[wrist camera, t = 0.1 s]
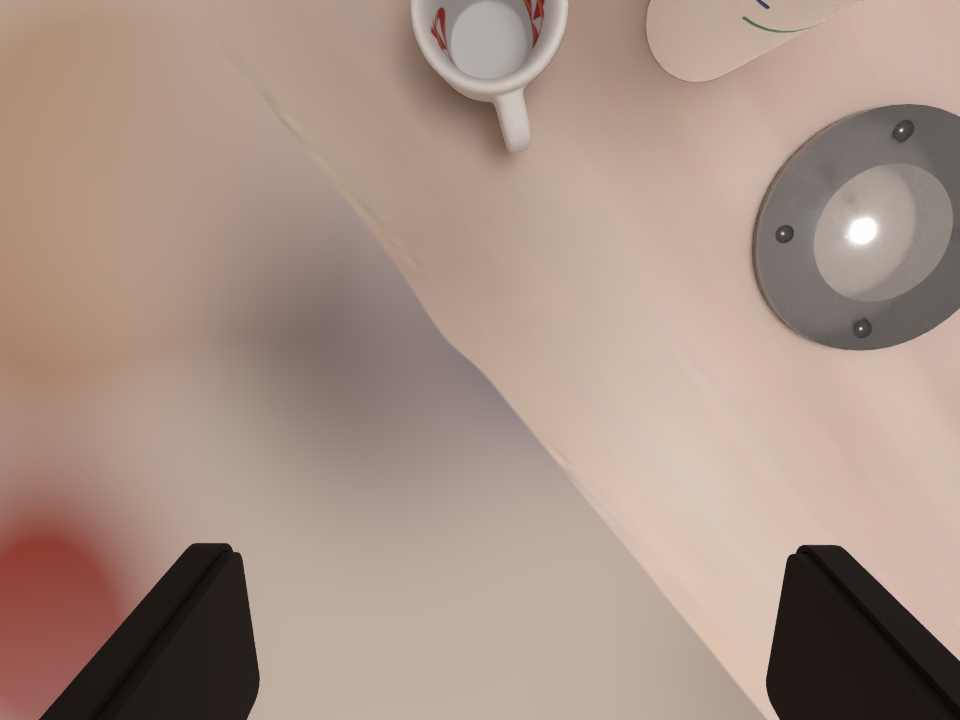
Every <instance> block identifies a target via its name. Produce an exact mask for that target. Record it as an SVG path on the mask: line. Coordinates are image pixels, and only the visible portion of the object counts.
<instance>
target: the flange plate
mask: <svg viewBox="0 0 960 720" xmlns="http://www.w3.org/2000/svg"><path fill="white" fill-rule="evenodd" d="M752 251H753V265H754V270H755V275H756V279H757V282H758V285H759V288H760V291H761V293H762V295H763V296H764V298H765V300H766V302H767V304H768V305H769V307H770V308H771V309H772V311H773V312H774V313H775V315H776V316H777V317H778V318H779V319H780V320H781V321H782V322H783V323H784V324H786V325H787V326H789V327H790V328H791V329H793V330H794V331H795V332H797V333H799V334H801V335H803V336H805V337H807V338H809V339H811V340H814V341H816V342H819V343H821V344H824V345H827V346H830V347H835V348H839V349H845V350H858V351H859V350H875V349H881V348H886V347H891V346H894V345H898V344H901V343H904V342H907V341H909V340H911V339H914V338H916V337H919V336H920V335H922V334H924V333H926V332H928V331H930V330H931V329H933V328H935V327H936V326H938V325H939V324H940V323H942V322H943V321H945V320H946V319H948V318H949V317H950V316H951V315H952V314H953V313H954V312H956V311H957V310H958V309H959V308H960V117H959V116H957V115H955V114H952V113H950V112H947V111H945V110H942V109H939V108H935V107H930V106H926V105H913V104H905V105H891V106H886V107H881V108H877V109H872V110H868V111H864V112H860V113H858V114H855V115H852V116H849V117H846V118H844V119H842V120H840V121H838V122H835V123H833V124H831V125H829V126H828V127H826V128H825V129H823V130H822V131H820V132H818V133H817V134H815V135H814V136H813V137H812V138H810V139H809V140H808V141H807V142H805V143H804V144H803V145H802V146H801V147H800V148H799V149H798V150H797V151H796V152H795V153H794V154H793V155H792V156H791V157H790V158H789V159H788V160H787V162H786V163H785V164H784V165H783V167H782V168H781V169H780V170H779V172H778V173H777V175H776V176H775V178H774V180H773V181H772V183H771V184H770V186H769V188H768V190H767V192H766V194H765V197H764V199H763V201H762V203H761V206H760V209H759V212H758V215H757V219H756V224H755V228H754V234H753V247H752Z"/></svg>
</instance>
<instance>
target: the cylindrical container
mask: <svg viewBox="0 0 960 720" xmlns="http://www.w3.org/2000/svg"><path fill="white" fill-rule="evenodd" d="M861 1H863V0H650V3H649V6H648V9H647V17H646V34H647V39H648V43H649V47H650V49H651V51H652V54H653V56H654V58H655V59H656V61H657V62H658V63H659V65H660V66H661V67H662V68H663V69H664V70H665V71H667V72H668V73H669V74H671V75H673V76H674V77H676V78H678V79H681V80H685V81H688V82H704V81H710V80H713V79H716V78H718V77H721V76H723V75H725V74H727V73H729V72H731V71H732V70H734V69H736V68H738V67H740V66H742V65H744V64H746V63H747V62H749V61H751V60H753V59H755V58H757V57H759V56H761V55H762V54H764V53H766V52H768V51H770V50H772V49H774V48H775V47H777V46H779V45H781V44H783V43H785V42H787V41H789V40H790V39H792V38H794V37H796V36H798V35H800V34H802V33H803V32H805V31H807V30H809V29H811V28H813V27H815V26H817V25H818V24H820V23H822V22H824V21H826V20H828V19H830V18H832V17H833V16H835V15H837V14H839V13H841V12H843V11H845V10H846V9H848V8H850V7H852V6H854V5H856V4H858V3H860V2H861Z"/></svg>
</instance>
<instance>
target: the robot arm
mask: <svg viewBox="0 0 960 720" xmlns="http://www.w3.org/2000/svg"><path fill="white" fill-rule="evenodd" d="M259 678H260V677H259V669H258V662H257V655H256V648H255V642H254V635H253V628H252V621H251V615H250V608H249V601H248V594H247V588H246V581H245V574H244V567H243V560H242V557H241V555H240V553H238V552H233V550H232V548H231V546H230V545H229V544H227V543H195V544H192V545H190V546H189V547H188V548H187V549H186V550H185V552H184V553H183V554H182V555H181V556H180V557H179V558H178V560H177V561H176V562H175V563H174V564H173V565H172V567H171V568H170V569H169V570H168V571H167V572H166V573H165V575H164V576H163V577H162V578H161V579H160V580H159V582H158V583H157V584H156V585H155V586H154V587H153V588H152V590H151V591H150V592H149V593H148V594H147V595H146V597H145V598H144V599H143V600H142V601H141V602H140V604H139V605H138V606H137V607H136V608H135V609H134V610H133V612H132V613H131V614H130V615H129V616H128V617H127V619H126V620H125V621H124V622H123V623H122V624H121V625H120V627H119V628H118V629H117V630H116V631H115V632H114V634H113V635H112V636H111V637H110V638H109V640H108V641H107V642H106V643H105V644H104V645H103V646H102V647H101V649H100V650H99V651H98V652H97V653H96V654H95V656H94V657H93V658H92V659H91V660H90V662H88V664H87V665H86V666H85V667H84V668H83V669H82V671H81V672H80V673H79V674H78V675H77V676H76V678H75V679H74V680H73V681H72V682H71V683H70V684H69V686H68V687H67V688H66V689H65V690H64V691H63V693H62V694H61V695H60V696H59V697H58V698H57V700H56V701H55V702H54V703H53V704H52V705H51V706H50V707H49V709H48V710H47V711H46V712H45V713H44V715H43V716H42V717H41V718H40V719H39V720H247V718H248V715H249V713H250V711H251V709H252V707H253V705H254V703H255V700H256V697H257V694H258V688H259V681H260V679H259ZM766 688H767V693H768V697H769V700H770V702H771V704H772V706H773V708H774V710H775V712H776V714H777V715H778V717H779V719H780V720H960V661H959V660H958V659H957V658H956V657H955V656H954V655H953V654H952V653H951V652H950V651H949V650H948V649H947V648H946V647H945V646H943V645H942V644H941V643H940V642H939V641H938V640H937V639H936V638H935V637H934V636H933V635H932V634H931V633H930V632H929V631H928V630H927V629H926V628H925V627H924V626H923V625H922V624H921V623H920V622H919V621H918V620H917V619H916V618H915V617H914V616H913V615H912V614H911V613H910V612H909V611H908V610H907V609H906V608H904V607H903V606H902V605H901V604H900V603H899V602H898V601H897V600H896V599H895V598H894V597H893V596H892V595H891V594H890V593H889V592H888V591H887V590H886V589H885V588H884V587H883V586H882V585H881V584H880V583H879V582H878V581H877V580H876V579H875V578H874V577H873V576H872V575H871V574H870V573H869V572H868V571H866V570H865V569H864V568H863V567H862V566H861V565H860V564H859V563H858V562H857V561H856V560H855V559H854V558H853V557H852V556H851V555H850V554H849V553H848V552H847V551H846V550H845V549H843V548H842V547H841V546H837V545H803V546H800V547H799V548H798V550H797V552H796V554H791V555H790V556H789V557H788V559H787V563H786V568H785V574H784V580H783V586H782V591H781V597H780V603H779V608H778V614H777V620H776V625H775V631H774V637H773V643H772V648H771V654H770V660H769V665H768V671H767V677H766Z"/></svg>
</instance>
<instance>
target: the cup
mask: <svg viewBox="0 0 960 720" xmlns="http://www.w3.org/2000/svg"><path fill="white" fill-rule="evenodd" d="M410 12H411V21H412V26H413V30H414V34H415V37H416V40H417V43H418V45H419V47H420V49H421V51H422V53H423V55H424V56H425V58H426V60H427V61H428V63H429V64H430V65H431V66H432V68H433V69H434V70H435V71H436V72H437V73H438V74H439V75H440V76H441V77H442V78H443V79H444V80H445V81H446V82H448V83H449V84H450V85H451V86H452V87H453V88H454V89H455V90H456V91H458V92H459V93H461V94H463V95H464V96H466V97H468V98H471V99H473V100H477V101H483V102H491V103H493V104H494V106H495V108H496V111H497V115H498V119H499V122H500V126H501V130H502V134H503V137H504V141H505V144H506V147H507V149H508V151H510V152H513V153H515V152H519V151H523V150H525V149H527V148H528V147H529V146H530V144H531V131H530V124H529V119H528V114H527V109H526V105H525V100H524V94H523V93H524V89H525V87H526V86H527V85H528V84H529V83H530V82H531V81H532V80H533V79H534V78H535V77H536V76H537V75H539V74H540V73H541V72H542V71H543V70H544V68H545V67H546V66H547V65H548V63H549V62H550V61H551V59H552V58H553V56H554V55H555V53H556V51H557V49H558V47H559V45H560V43H561V40H562V37H563V35H564V31H565V27H566V23H567V17H568V0H410Z"/></svg>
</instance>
